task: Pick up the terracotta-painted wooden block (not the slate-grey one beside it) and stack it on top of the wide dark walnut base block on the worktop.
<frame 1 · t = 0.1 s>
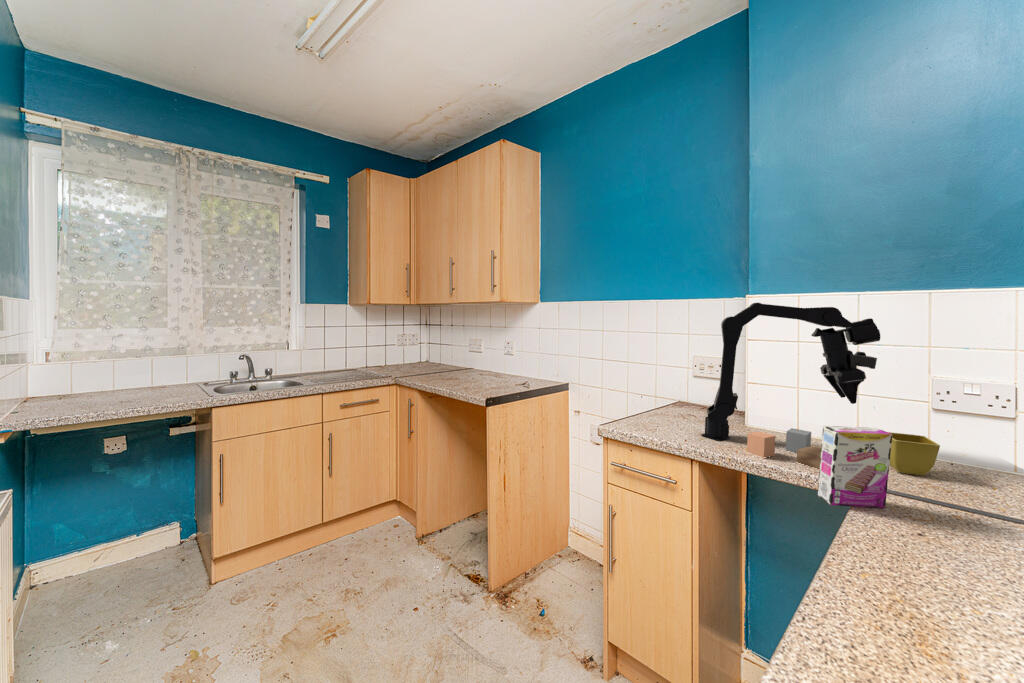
hand: (848, 400, 123), 15 cm above the countertop, tool pointing down, fingers open, 9 cm apart
candy bar box: (851, 503, 91), on the countertop
base block: (817, 465, 114), on the countertop
terracotta block: (760, 454, 122), on the countertop
grey block: (797, 451, 125), on the countertop
flower pot: (907, 472, 109), on the countertop
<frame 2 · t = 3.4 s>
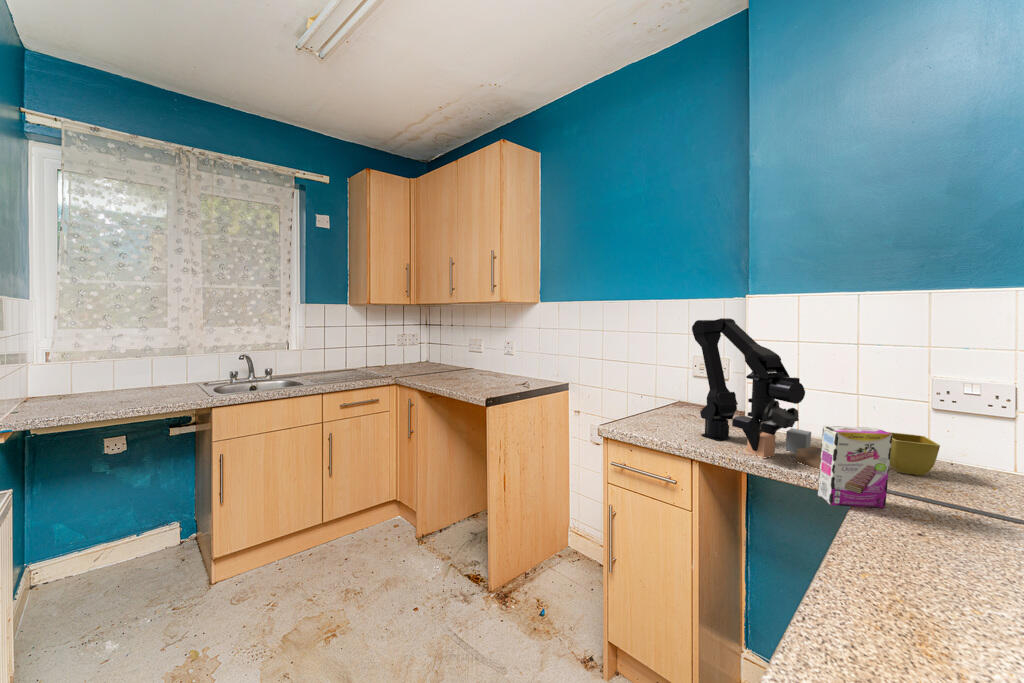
hand: (760, 449, 121), 2 cm above the countertop, tool pointing down, fingers closed on terracotta block, 5 cm apart
terracotta block: (760, 454, 122), on the countertop, touching gripper
everything else where it was.
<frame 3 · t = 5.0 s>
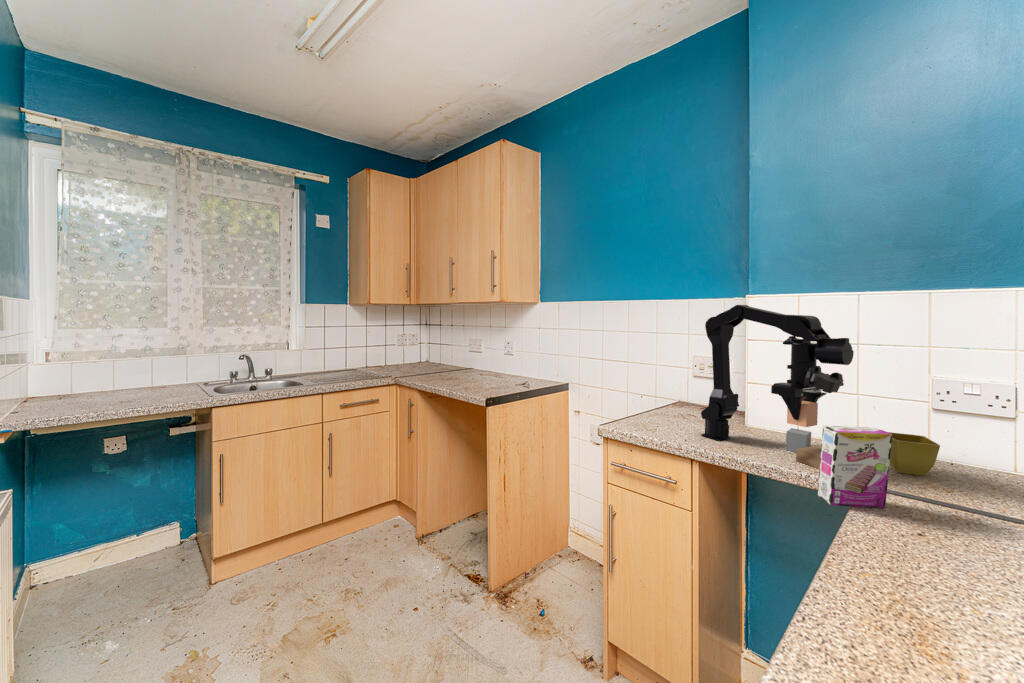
hand: (802, 418, 115), 12 cm above the countertop, tool pointing down, fingers closed on terracotta block, 5 cm apart
terracotta block: (801, 424, 115), point 11 cm above the countertop, touching gripper
everything else where it was.
when the fingers open (7 cm above the countertop, at t = 6.9 s): terracotta block drops 1 cm, point 4 cm above the countertop.
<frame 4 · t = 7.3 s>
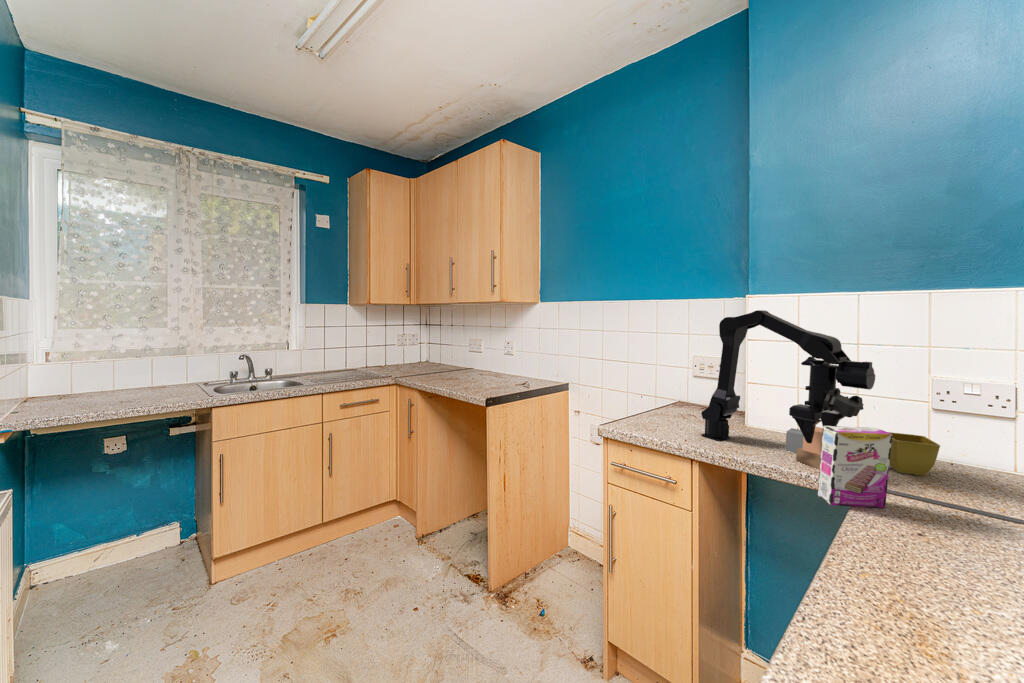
hand: (818, 440, 113), 7 cm above the countertop, tool pointing down, fingers open, 9 cm apart
terracotta block: (817, 451, 113), point 4 cm above the countertop
everything else where it was.
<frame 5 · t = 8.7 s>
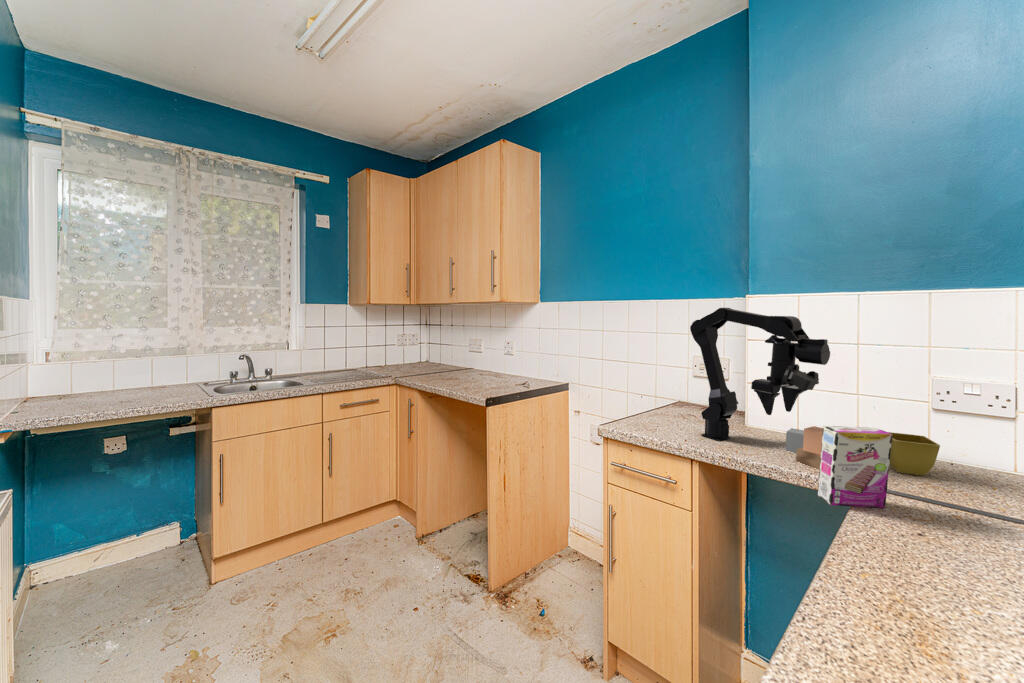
hand: (778, 413, 122), 12 cm above the countertop, tool pointing down, fingers open, 9 cm apart
base block: (817, 466, 114), on the countertop, touching terracotta block
terracotta block: (818, 451, 113), point 4 cm above the countertop, touching base block
everything else where it was.
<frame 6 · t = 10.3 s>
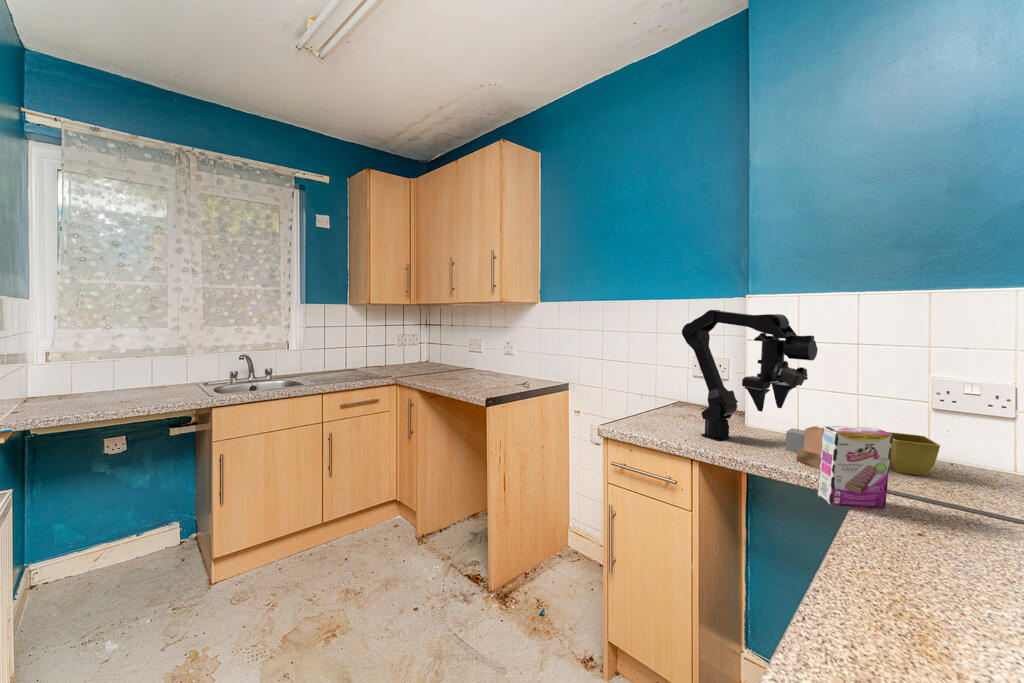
hand: (769, 409, 124), 13 cm above the countertop, tool pointing down, fingers open, 9 cm apart
base block: (818, 466, 113), on the countertop
terracotta block: (818, 451, 113), point 4 cm above the countertop
everything else where it was.
at the end: terracotta block 0.3 cm off-centre on the base block, point 4.0 cm above the base block's base; terracotta block tilted 0°; the gripper is holding nothing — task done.
